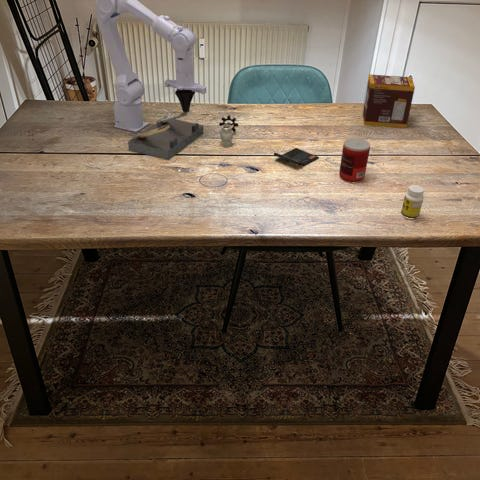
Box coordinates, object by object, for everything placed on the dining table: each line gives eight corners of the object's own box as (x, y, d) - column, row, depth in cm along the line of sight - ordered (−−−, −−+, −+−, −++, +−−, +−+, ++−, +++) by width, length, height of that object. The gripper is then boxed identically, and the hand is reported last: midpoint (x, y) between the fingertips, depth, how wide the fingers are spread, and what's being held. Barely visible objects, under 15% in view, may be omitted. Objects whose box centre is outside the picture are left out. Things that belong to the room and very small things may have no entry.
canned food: (366, 173, 163) (372, 140, 157) (362, 185, 157) (368, 151, 151) (341, 168, 165) (346, 136, 159) (336, 180, 159) (341, 146, 152)
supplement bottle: (398, 210, 146) (404, 183, 141) (414, 210, 146) (421, 183, 141) (404, 220, 142) (410, 193, 137) (421, 219, 142) (428, 192, 137)
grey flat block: (128, 150, 172) (127, 136, 169) (166, 125, 189) (165, 112, 186) (168, 160, 167) (167, 146, 164) (203, 133, 184) (203, 120, 181)
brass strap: (137, 138, 172) (135, 135, 171) (142, 135, 174) (140, 132, 174) (165, 130, 165) (163, 127, 165) (170, 127, 167) (168, 124, 167)
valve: (235, 148, 175) (238, 133, 185) (236, 129, 172) (238, 115, 181) (216, 147, 176) (219, 132, 185) (216, 128, 172) (219, 114, 182)
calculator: (318, 159, 171) (319, 150, 169) (296, 171, 164) (297, 162, 162) (295, 150, 176) (296, 141, 174) (273, 161, 169) (273, 152, 167)
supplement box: (361, 114, 202) (368, 73, 193) (403, 117, 201) (411, 76, 192) (363, 125, 194) (370, 83, 185) (406, 128, 192) (415, 86, 183)
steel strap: (160, 123, 182) (159, 120, 182) (164, 120, 184) (163, 117, 184) (187, 115, 176) (186, 112, 175) (191, 112, 178) (190, 109, 177)
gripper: (158, 70, 168) (161, 111, 176) (198, 77, 164) (199, 119, 171) (170, 64, 174) (172, 104, 181) (209, 71, 169) (209, 111, 177)
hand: (186, 111), depth 177 cm, fingers closed
